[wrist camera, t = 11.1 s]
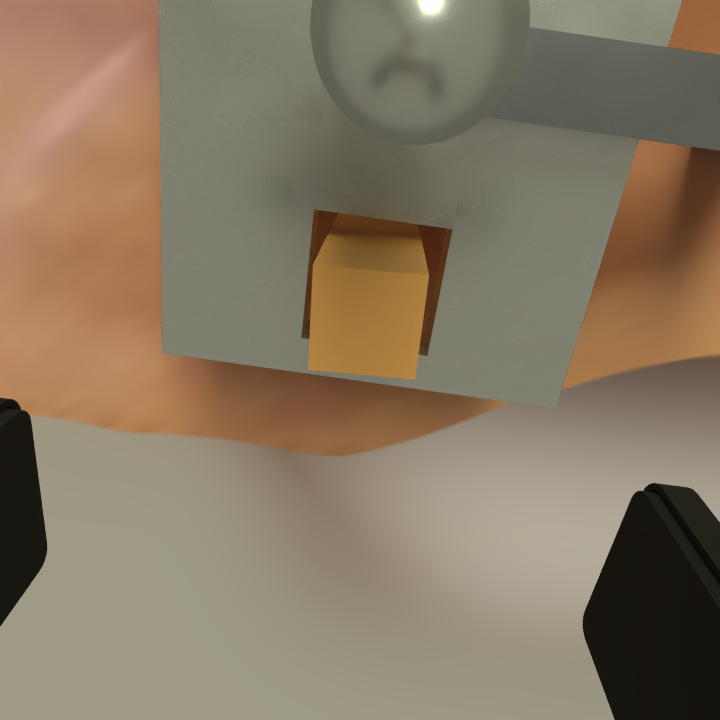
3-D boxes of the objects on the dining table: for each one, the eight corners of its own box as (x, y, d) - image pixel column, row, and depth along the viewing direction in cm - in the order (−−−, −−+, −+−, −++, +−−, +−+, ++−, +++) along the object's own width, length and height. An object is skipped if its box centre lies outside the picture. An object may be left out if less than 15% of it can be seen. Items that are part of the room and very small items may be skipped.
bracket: (441, 109, 26) (468, 114, 17) (451, 50, 26) (486, 21, 16) (744, 153, 27) (938, 182, 17) (766, 95, 26) (985, 93, 16)
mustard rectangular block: (343, 201, 28) (313, 264, 17) (414, 207, 28) (429, 275, 17) (338, 270, 30) (308, 369, 19) (407, 277, 30) (415, 379, 19)
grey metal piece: (217, 292, 31) (15, 515, 14) (230, -119, 23) (-148, -626, 7) (516, 335, 31) (658, 604, 14) (621, -62, 24) (1145, -430, 7)
